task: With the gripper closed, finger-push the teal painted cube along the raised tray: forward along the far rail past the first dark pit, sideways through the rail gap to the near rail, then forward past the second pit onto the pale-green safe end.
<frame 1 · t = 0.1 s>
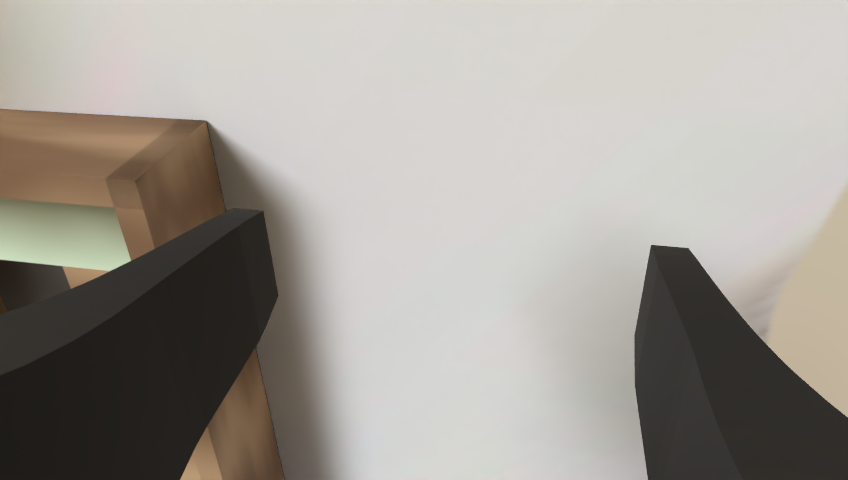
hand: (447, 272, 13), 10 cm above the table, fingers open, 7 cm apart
tray: (153, 424, 34), on the table
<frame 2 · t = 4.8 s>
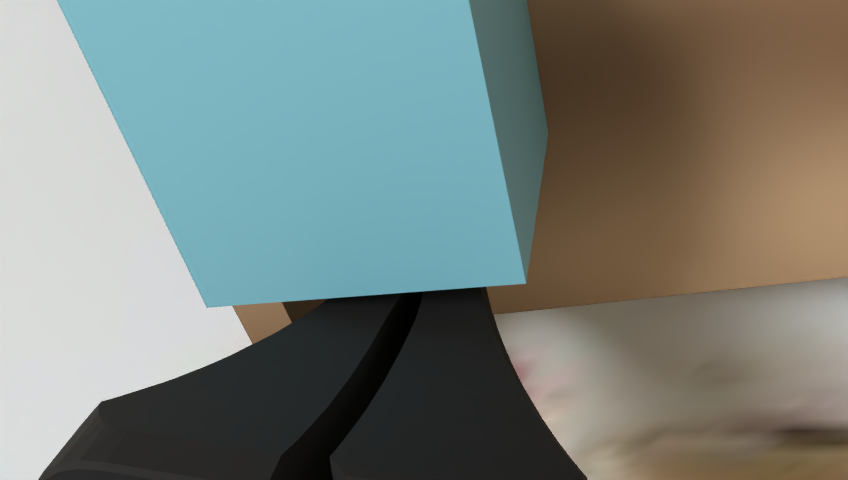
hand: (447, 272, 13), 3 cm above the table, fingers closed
block: (394, 29, 12), point 2 cm above the table, touching gripper
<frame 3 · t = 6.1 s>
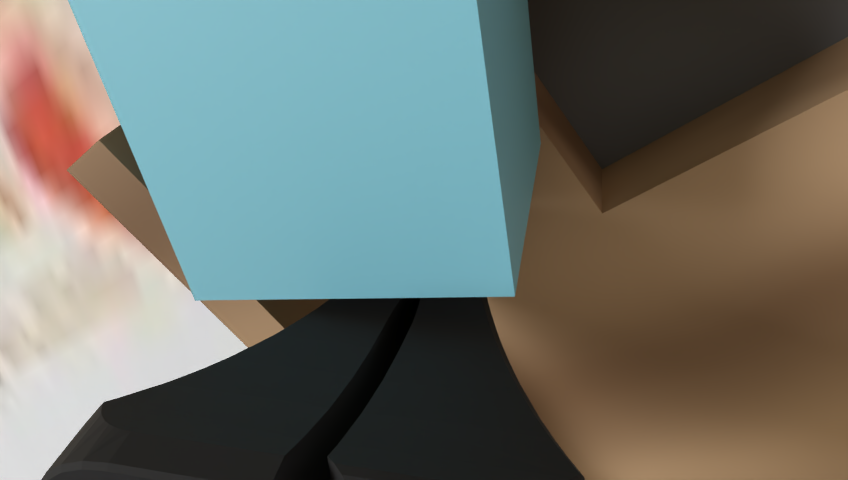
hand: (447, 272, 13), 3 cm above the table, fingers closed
block: (394, 30, 12), point 2 cm above the table, touching gripper
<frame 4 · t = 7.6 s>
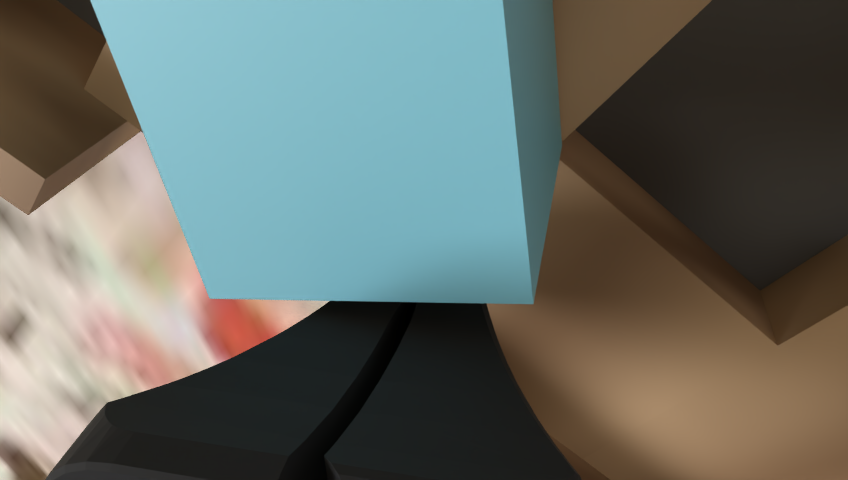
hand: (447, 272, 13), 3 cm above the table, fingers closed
block: (416, 28, 11), point 2 cm above the table, touching tray, gripper
tray: (489, 34, 13), on the table
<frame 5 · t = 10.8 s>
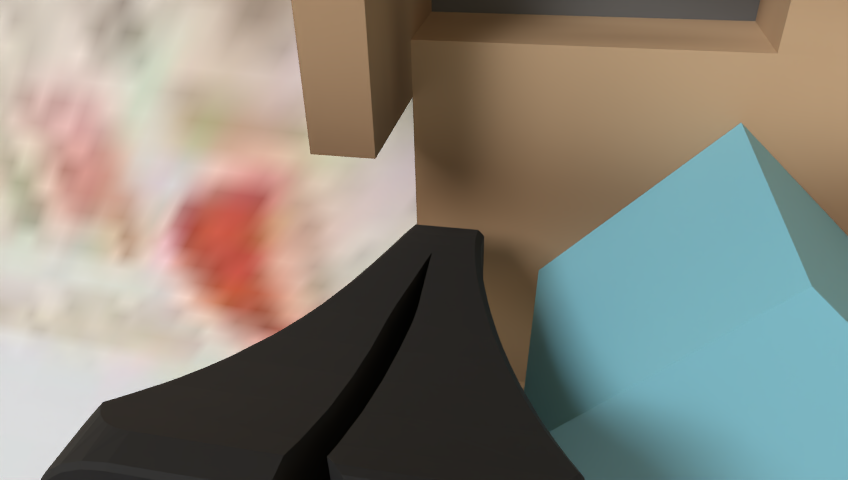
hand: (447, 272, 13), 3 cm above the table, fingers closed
block: (710, 281, 13), point 2 cm above the table, touching gripper
tray: (682, 270, 15), on the table
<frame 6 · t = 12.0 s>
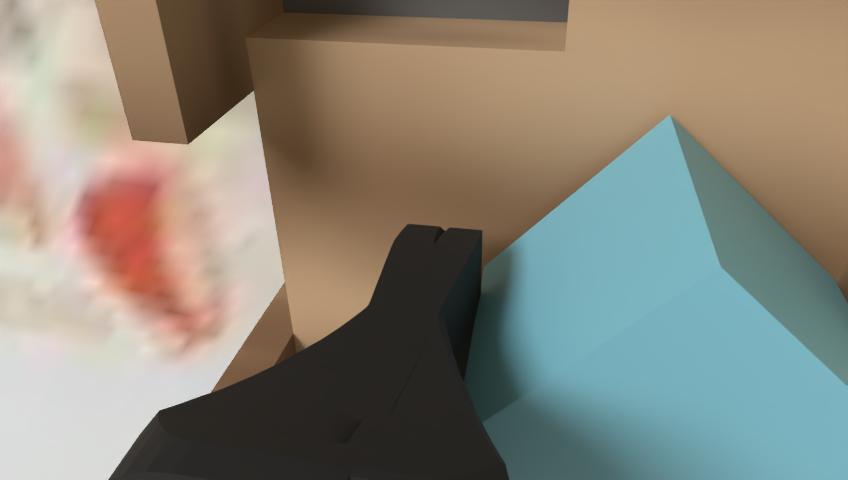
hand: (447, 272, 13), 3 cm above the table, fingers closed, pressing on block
block: (651, 272, 13), point 2 cm above the table, touching tray, gripper
tray: (538, 258, 16), on the table
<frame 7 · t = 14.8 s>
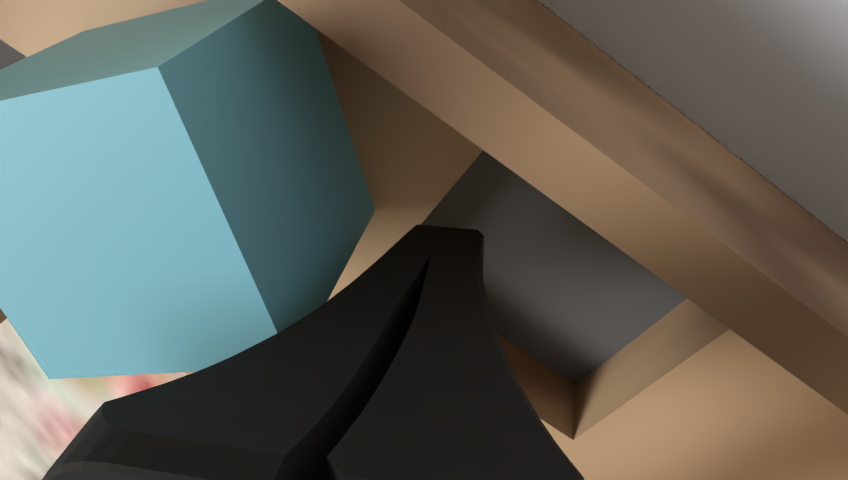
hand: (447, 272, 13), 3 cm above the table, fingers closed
block: (233, 123, 13), point 2 cm above the table, touching gripper
tray: (317, 194, 16), on the table
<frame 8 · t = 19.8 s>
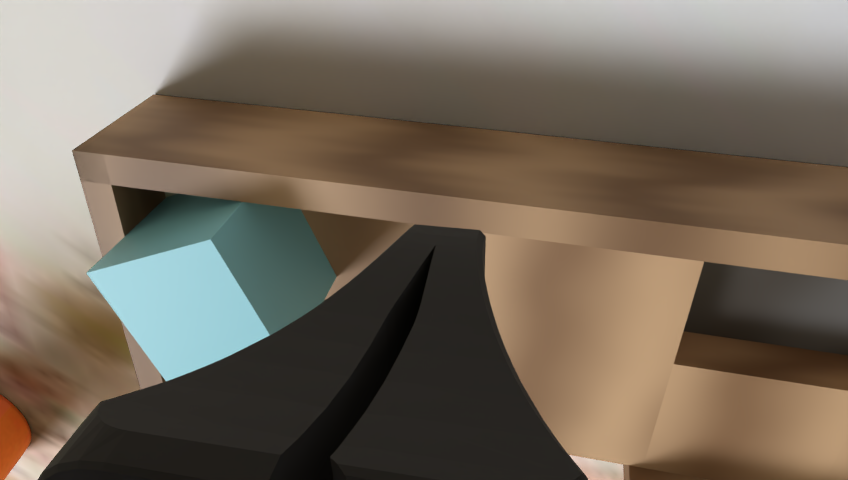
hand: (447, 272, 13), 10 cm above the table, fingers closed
block: (252, 237, 24), point 2 cm above the table, touching tray
tray: (611, 311, 25), on the table
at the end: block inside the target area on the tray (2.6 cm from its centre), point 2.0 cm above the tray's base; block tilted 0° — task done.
